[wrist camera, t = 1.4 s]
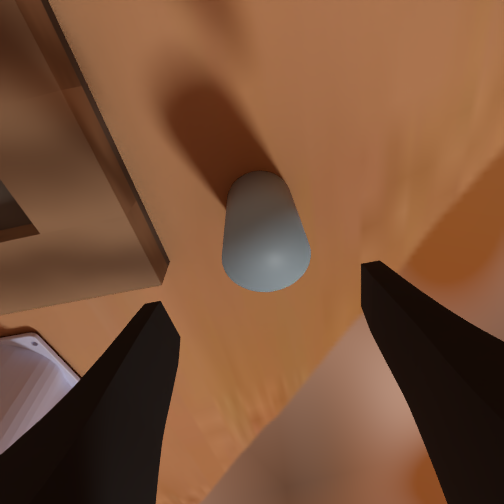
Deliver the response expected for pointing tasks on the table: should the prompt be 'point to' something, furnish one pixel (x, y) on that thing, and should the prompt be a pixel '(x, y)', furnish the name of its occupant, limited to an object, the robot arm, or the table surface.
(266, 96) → the table surface
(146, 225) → the walnut socket block
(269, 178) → the slate pin
